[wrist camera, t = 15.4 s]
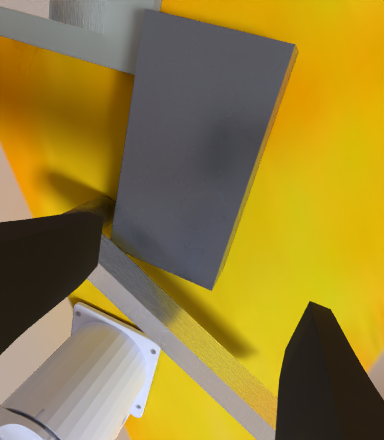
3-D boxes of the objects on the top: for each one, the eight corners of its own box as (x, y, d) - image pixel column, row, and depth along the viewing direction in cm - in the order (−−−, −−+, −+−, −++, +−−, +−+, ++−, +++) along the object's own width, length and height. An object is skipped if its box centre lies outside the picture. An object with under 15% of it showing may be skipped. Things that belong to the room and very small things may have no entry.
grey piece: (222, 270, 21) (211, 290, 19) (129, 231, 22) (109, 246, 20) (298, 51, 15) (295, 44, 13) (167, 19, 17) (145, 8, 15)
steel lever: (274, 384, 22) (264, 451, 18) (88, 209, 23) (37, 235, 18) (296, 372, 21) (290, 440, 17) (101, 190, 22) (50, 212, 18)
